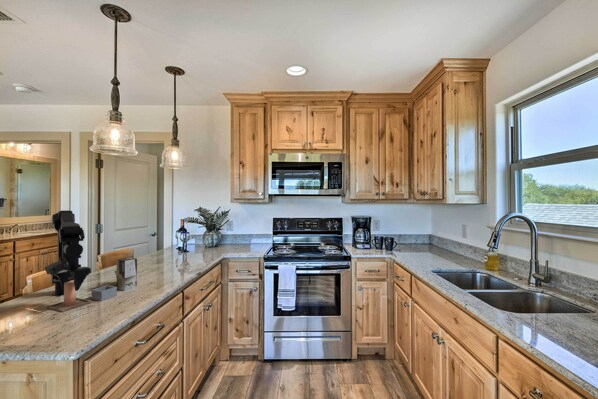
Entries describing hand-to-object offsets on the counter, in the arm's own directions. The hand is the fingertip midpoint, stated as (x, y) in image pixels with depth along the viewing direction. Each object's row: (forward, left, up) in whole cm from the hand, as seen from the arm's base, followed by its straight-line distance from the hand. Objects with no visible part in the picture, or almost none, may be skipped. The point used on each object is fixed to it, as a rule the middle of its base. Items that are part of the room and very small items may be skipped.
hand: (70, 289), depth 118 cm
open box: (+4, +12, -8) cm, 15 cm away
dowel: (0, 0, -7) cm, 7 cm away
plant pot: (-9, +31, -8) cm, 33 cm away
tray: (0, 0, -8) cm, 8 cm away
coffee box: (0, +26, -8) cm, 27 cm away
